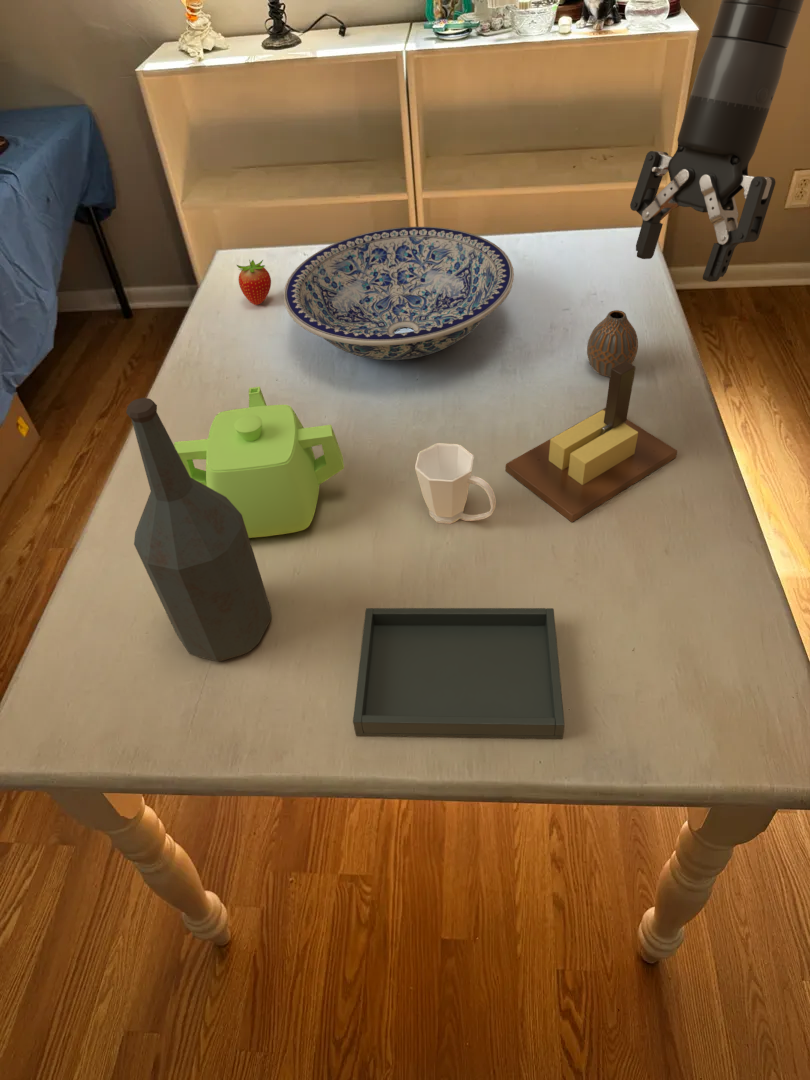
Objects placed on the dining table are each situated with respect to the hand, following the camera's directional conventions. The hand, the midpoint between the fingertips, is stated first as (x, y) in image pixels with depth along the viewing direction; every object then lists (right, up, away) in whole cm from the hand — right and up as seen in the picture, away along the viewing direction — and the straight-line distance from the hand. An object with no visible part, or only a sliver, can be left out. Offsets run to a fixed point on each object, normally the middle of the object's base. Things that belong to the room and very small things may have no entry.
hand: (675, 268), depth 84 cm
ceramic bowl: (-30, +3, +39) cm, 49 cm away
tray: (-24, -43, -5) cm, 49 cm away
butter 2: (-5, -20, +13) cm, 24 cm away
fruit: (-54, +11, +49) cm, 73 cm away
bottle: (-49, -39, +2) cm, 62 cm away
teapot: (-46, -23, +16) cm, 54 cm away
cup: (-23, -26, +11) cm, 36 cm away
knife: (-3, -17, +16) cm, 23 cm away
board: (-6, -20, +15) cm, 25 cm away
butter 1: (-7, -18, +15) cm, 24 cm away
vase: (0, -5, +29) cm, 29 cm away
